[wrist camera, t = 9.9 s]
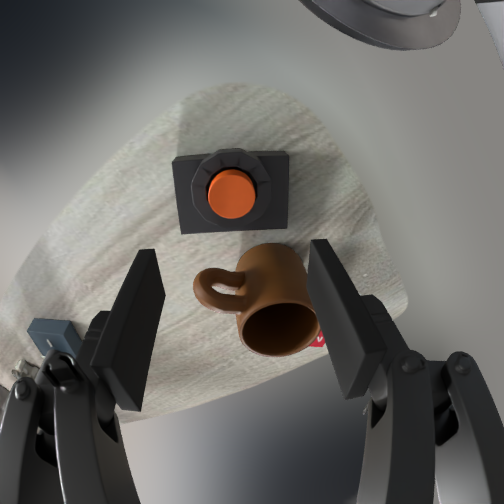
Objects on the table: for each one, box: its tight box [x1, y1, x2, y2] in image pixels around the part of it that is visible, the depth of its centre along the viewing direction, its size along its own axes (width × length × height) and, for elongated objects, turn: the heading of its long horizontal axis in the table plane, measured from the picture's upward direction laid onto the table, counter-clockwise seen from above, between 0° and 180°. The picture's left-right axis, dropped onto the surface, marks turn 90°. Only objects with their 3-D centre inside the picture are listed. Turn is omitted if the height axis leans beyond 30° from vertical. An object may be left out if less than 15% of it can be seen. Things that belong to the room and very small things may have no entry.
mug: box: [193, 243, 321, 357], centre depth 27 cm, size 12×8×9 cm, turn 61°
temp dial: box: [35, 349, 60, 385], centre depth 31 cm, size 5×5×8 cm
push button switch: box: [172, 148, 289, 234], centre depth 25 cm, size 8×10×4 cm
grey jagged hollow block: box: [12, 360, 39, 381], centre depth 40 cm, size 11×8×4 cm
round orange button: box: [208, 169, 255, 218], centre depth 22 cm, size 4×4×2 cm
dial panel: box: [27, 318, 82, 359], centre depth 35 cm, size 12×9×3 cm
